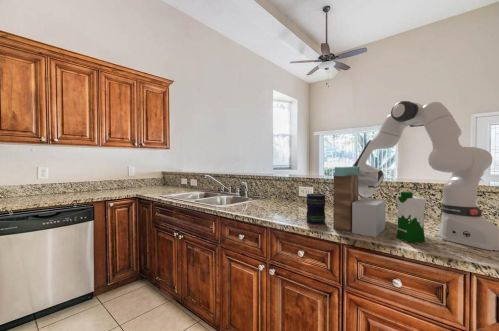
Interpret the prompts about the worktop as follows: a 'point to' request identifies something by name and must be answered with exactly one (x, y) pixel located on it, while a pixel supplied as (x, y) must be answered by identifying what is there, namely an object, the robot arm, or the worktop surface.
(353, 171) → the teal tile
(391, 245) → the worktop surface
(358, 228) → the grey step
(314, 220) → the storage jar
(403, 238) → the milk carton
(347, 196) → the brown tall block
